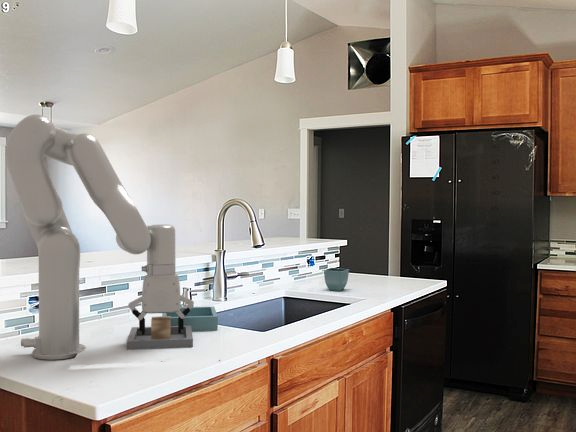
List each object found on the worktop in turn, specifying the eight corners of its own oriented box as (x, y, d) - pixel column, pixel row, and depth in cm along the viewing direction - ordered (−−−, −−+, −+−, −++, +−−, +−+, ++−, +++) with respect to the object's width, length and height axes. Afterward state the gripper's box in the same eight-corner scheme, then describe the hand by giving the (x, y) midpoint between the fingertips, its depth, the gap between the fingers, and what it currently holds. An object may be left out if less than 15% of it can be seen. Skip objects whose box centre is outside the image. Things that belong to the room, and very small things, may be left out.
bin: (126, 353, 148) (126, 341, 148) (131, 337, 164) (131, 327, 164) (192, 350, 151) (192, 339, 151) (191, 335, 168) (191, 325, 167)
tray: (161, 335, 168) (161, 318, 168) (162, 323, 183) (163, 307, 183) (217, 333, 171) (217, 316, 171) (214, 321, 186) (214, 306, 186)
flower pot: (342, 292, 248) (342, 271, 248) (323, 290, 252) (323, 270, 252) (349, 289, 256) (349, 269, 256) (330, 287, 260) (330, 267, 260)
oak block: (151, 342, 155) (151, 320, 155) (151, 338, 160) (151, 316, 160) (170, 342, 156) (170, 319, 156) (170, 337, 161) (170, 316, 161)
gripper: (127, 272, 152) (127, 337, 152) (194, 271, 155) (194, 334, 156) (129, 269, 159) (129, 331, 160) (193, 267, 163) (193, 328, 163)
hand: (161, 332), depth 158 cm, fingers open, 9 cm apart
